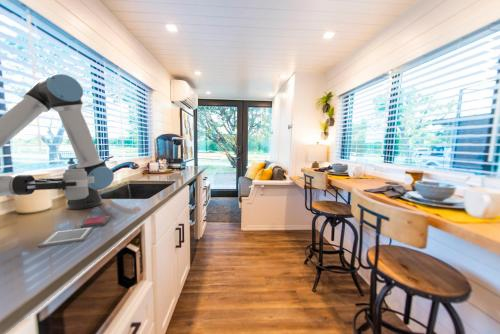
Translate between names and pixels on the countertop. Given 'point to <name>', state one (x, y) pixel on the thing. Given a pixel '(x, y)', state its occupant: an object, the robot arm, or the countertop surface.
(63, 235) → the board
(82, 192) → the grey upright rounded block
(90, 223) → the ink pad
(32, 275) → the countertop surface
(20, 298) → the countertop surface
